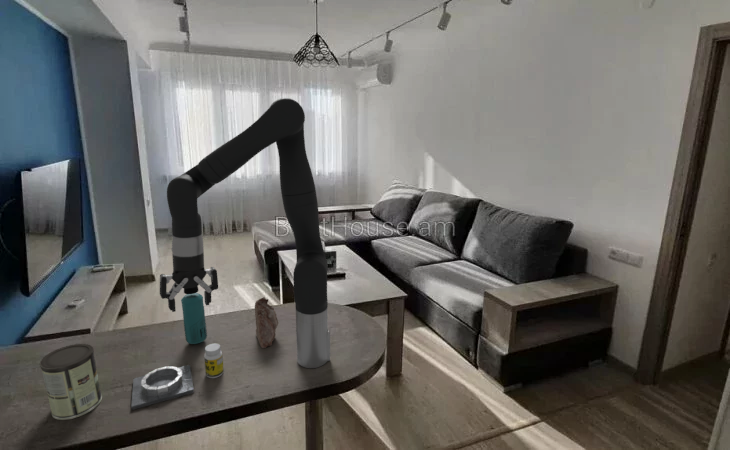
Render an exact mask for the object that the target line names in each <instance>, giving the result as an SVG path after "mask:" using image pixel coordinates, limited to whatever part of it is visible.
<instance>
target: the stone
mask: <svg viewBox="0 0 730 450" xmlns="http://www.w3.org/2000/svg"><path fill="white" fill-rule="evenodd" d="M268 303H269V299H268V298H266V297H265V296H263V297H261V298H259V299H258V300H256V301H255V303H254V314H255V316H254V317H255V326H256V329H255V335H256V338H257V341H258V343H259V345H260V348H261V349H266V348H267V347H270V346H272V345H273V341H275V338H276V333H277V332H276V329H277V328H278V326H279V320H278V317H277V313H276V311H275V309H274V307H273V306H272V305H270V304H268Z"/></svg>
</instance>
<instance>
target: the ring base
mask: <svg viewBox="0 0 730 450" xmlns="http://www.w3.org/2000/svg"><path fill="white" fill-rule="evenodd" d="M192 377H193V376H192V372H191V365H190V364H186V365H183V366H182V365H181V366H178V367H177V366H171V365H170V366H169V365H168V366H166V365H165V366H163V367H159V368H155V369H153V370H152V371H150V372H147V373H146V374H145V375H141V376H138V377H137V376H136V377H135V378H133V379H132V393H131V404H130V405H131V406H130V407H131V411H134V410H137V409H141V408H144V407H148V406H151V405H155V404H158V403H162V402H166V401H169V400H174V399H176V398H179V397H183V396H186V395H190V394H194V392H195V390H194V385H193V378H192Z"/></svg>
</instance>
